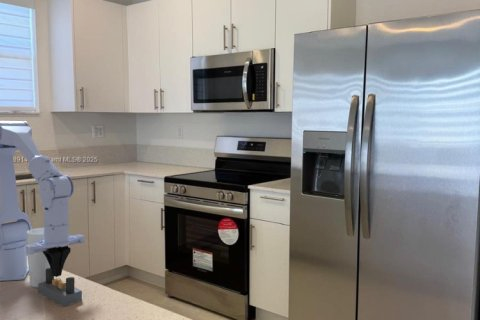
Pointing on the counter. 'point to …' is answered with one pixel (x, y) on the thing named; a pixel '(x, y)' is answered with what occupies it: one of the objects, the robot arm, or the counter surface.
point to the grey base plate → (59, 294)
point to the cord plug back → (49, 276)
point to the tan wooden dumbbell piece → (59, 283)
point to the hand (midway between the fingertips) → (56, 275)
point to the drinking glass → (36, 258)
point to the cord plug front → (70, 285)
